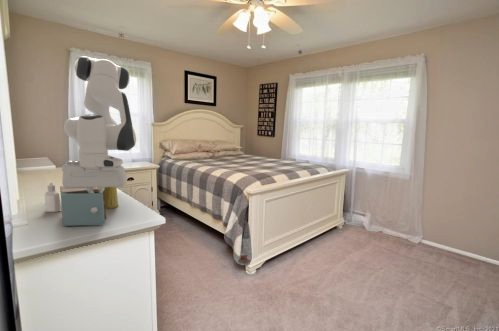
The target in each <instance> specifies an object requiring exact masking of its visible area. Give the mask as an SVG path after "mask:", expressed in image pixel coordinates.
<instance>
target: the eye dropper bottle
mask: <svg viewBox="0 0 499 331" xmlns="http://www.w3.org/2000/svg"><path fill="white" fill-rule="evenodd" d="M44 202H45V203H44V205H45V211H46V212H48V213H57V212H61V197H60V193H59V191H57V190H56V185H54V184H53V182H51V181H49V185H47V191H46V192H45V193H44Z"/></svg>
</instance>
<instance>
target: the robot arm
mask: <svg viewBox="0 0 499 331" xmlns="http://www.w3.org/2000/svg"><path fill="white" fill-rule="evenodd" d="M74 63H75V64H74V72H75V75H76V76H77V78H78V79H79V80H82V81H84V82H86V81H87V84H86V89H85V96H84V101H83V103H84V107H85V109H86V110H87V111H88V112H90V113H91V114H82V115H79V116H77V117H71V118H68V119H66V120H65V122H64V125H63V131H64V133H65V135H66V136H68V138H70V139H72V140H73V141H74V142H76V144H77V145H78V147H79V149H78V160H67V161H66V162H63V163H62V164H61V165H62V166H61V167H62V168H61V170H62V180H61V182H62V183H61V184H62V186H64V187H65V188H84V187H87V191H88V192H89V193H94V192H93V190H92V189H94V187H98V190H100V191H99V193H103V191H104V189H105V187H116V188H123V187H124V186H125V185H126V184H127V175H126V173H127V172H126V170H125V168H124V166H122V165H123V159H121V158H118V157H116V156H115V157H114V156H112V155H109V153H108V151H125V152H128V151H130V150H132V149H133V148H134V147H135V146H136V143H137V136H136V132H135V129H134V127H133V122H132V116H131V111H130V105H129V101H128V98H127V95H126V93H125V92H123V91H122V90H124V89H126V88H127V87H128V86H129V84H130V80H131V78H130V72H129V70H128V69H127V68H125V67H123V66H119V65H117V64H115V63H114V62H113V61H111V60H108V59H104V58H102V59H101V58H100V59H98V58H92V57H89V56H85V55H83V56H80V57H78V59H77V60H76V61H75V62H74ZM110 107H111V108H113V109H115V110H117V111H118V112H119V117H120V123H119V124H118V123H117V122H116V121H115V120H114V119H113V118H112V116H111V113H110Z"/></svg>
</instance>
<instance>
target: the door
mask: <svg viewBox="0 0 499 331" xmlns="http://www.w3.org/2000/svg"><path fill="white" fill-rule="evenodd" d="M61 202H62V205H61V214H63V217H62V221H63V222H62V224H63V227H68V226H96V225H97V226H99V225H101V226H103V225H105V219H104V203H103V193H71V194H61V193H60V203H61Z"/></svg>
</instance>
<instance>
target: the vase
mask: <svg viewBox="0 0 499 331" xmlns="http://www.w3.org/2000/svg"><path fill="white" fill-rule="evenodd" d="M117 188H118V187H105V206H106V210H107V209H108V210H109V209H115V208H117V207H119V202H118V189H117Z"/></svg>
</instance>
